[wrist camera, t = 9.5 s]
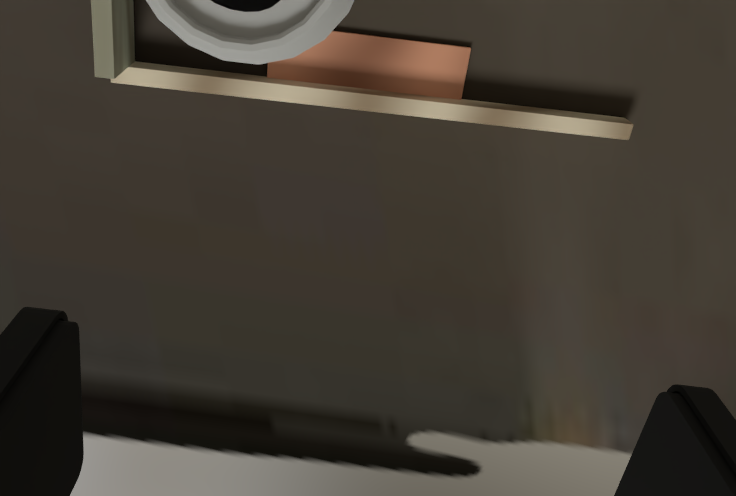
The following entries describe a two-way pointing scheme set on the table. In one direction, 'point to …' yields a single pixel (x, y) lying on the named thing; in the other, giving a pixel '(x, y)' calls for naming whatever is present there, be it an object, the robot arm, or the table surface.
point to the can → (251, 26)
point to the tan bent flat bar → (342, 78)
